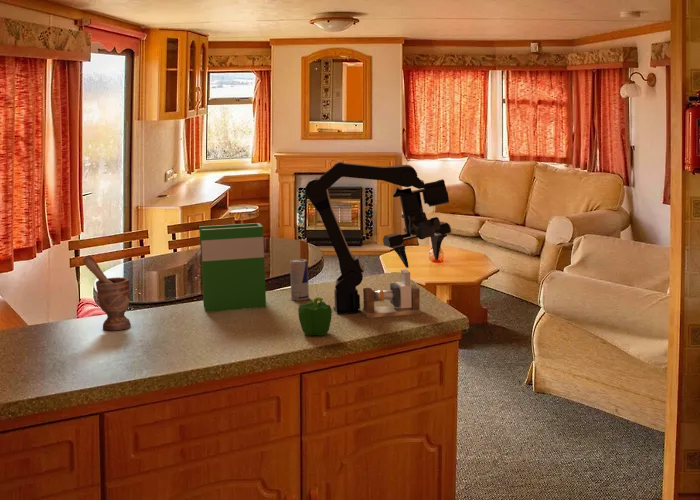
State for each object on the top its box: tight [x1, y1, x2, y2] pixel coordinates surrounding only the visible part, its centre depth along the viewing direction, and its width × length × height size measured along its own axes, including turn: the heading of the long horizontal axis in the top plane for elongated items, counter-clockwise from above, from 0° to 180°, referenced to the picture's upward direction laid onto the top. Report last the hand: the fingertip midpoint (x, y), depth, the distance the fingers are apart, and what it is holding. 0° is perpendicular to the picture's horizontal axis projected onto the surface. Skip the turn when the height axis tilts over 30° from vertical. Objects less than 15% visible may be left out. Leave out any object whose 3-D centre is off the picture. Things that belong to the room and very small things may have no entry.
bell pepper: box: [297, 297, 332, 337], centre depth 198 cm, size 8×8×10 cm
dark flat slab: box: [389, 282, 399, 307], centre depth 218 cm, size 1×6×6 cm, turn 11°
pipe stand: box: [362, 284, 421, 318], centre depth 218 cm, size 15×7×7 cm, turn 101°
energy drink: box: [289, 258, 310, 302], centre depth 235 cm, size 5×5×12 cm
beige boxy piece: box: [394, 269, 412, 308], centre depth 218 cm, size 3×6×10 cm, turn 11°
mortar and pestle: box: [82, 255, 132, 331], centre depth 207 cm, size 12×9×20 cm
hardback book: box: [198, 222, 267, 313], centre depth 226 cm, size 18×7×24 cm, turn 104°
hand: (422, 263), depth 218 cm, fingers open, 9 cm apart
